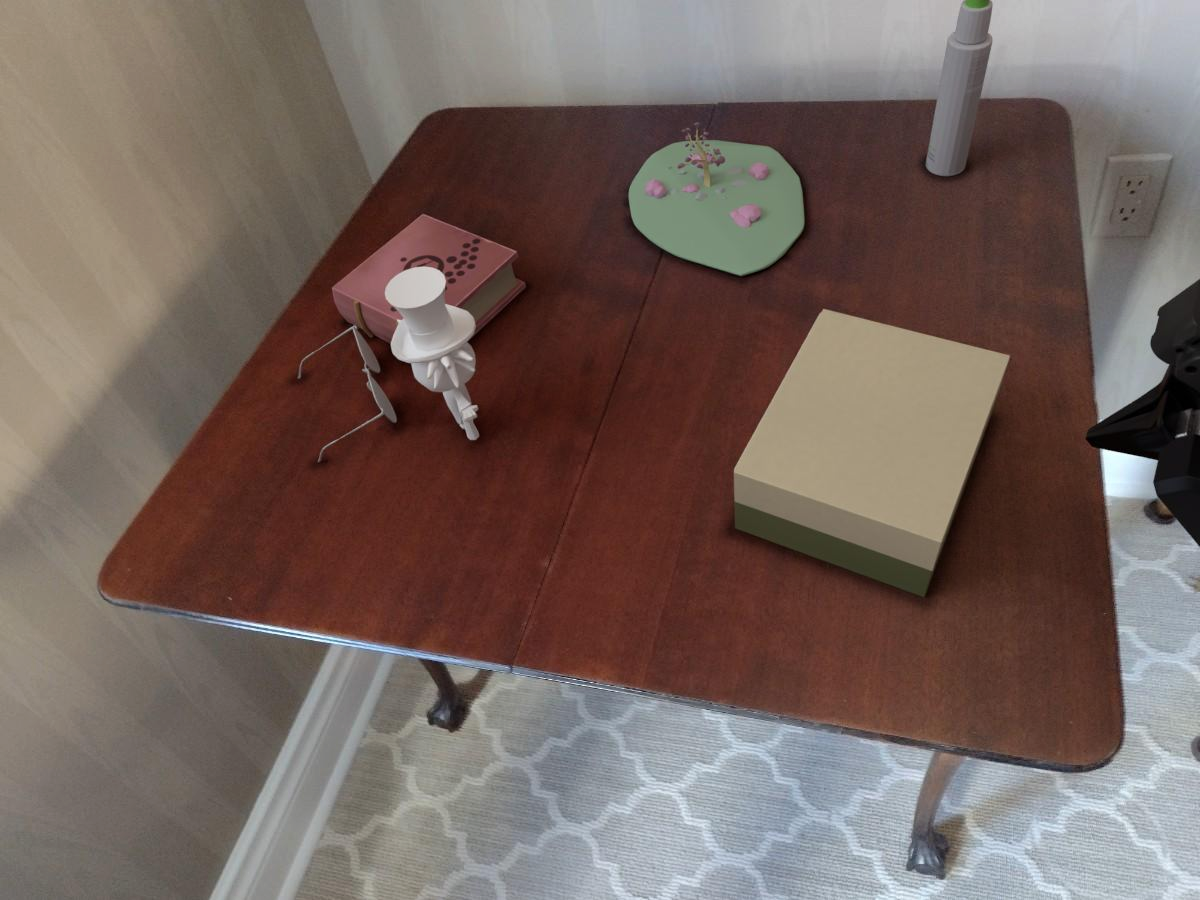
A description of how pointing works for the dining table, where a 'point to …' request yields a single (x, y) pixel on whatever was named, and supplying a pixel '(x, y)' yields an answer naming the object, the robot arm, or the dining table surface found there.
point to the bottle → (960, 89)
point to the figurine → (435, 339)
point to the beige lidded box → (868, 448)
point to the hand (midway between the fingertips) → (1089, 438)
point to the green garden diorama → (719, 203)
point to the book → (463, 258)
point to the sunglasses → (371, 384)
